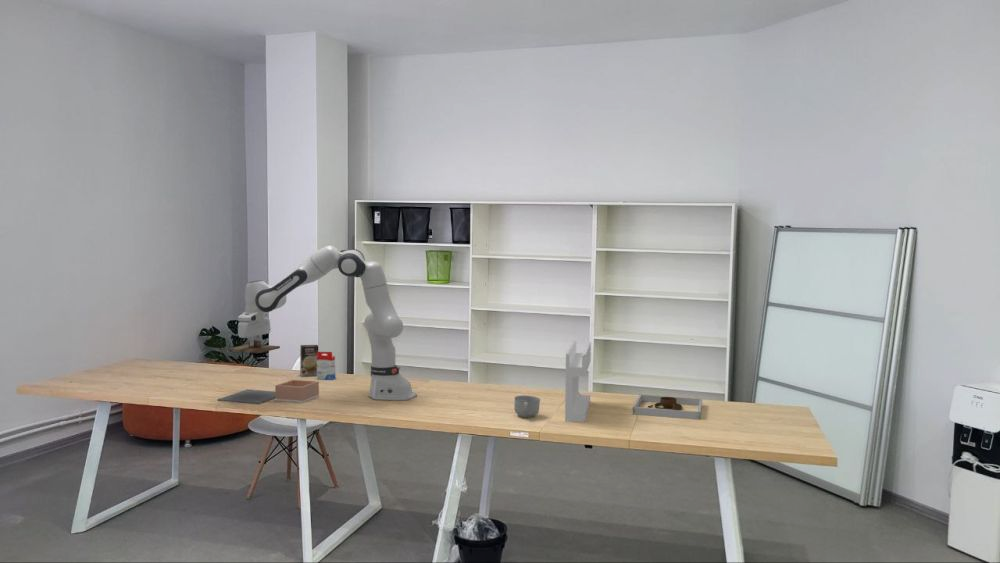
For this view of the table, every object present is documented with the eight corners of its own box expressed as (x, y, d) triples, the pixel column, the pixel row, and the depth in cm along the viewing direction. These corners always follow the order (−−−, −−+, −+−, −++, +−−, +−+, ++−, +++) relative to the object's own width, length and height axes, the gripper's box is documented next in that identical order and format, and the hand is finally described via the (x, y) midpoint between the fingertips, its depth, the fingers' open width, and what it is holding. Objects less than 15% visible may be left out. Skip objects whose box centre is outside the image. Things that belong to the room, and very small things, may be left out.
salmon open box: (318, 396, 348) (318, 381, 348) (302, 402, 335) (302, 387, 334) (292, 394, 352) (292, 379, 352) (275, 400, 339) (275, 385, 338)
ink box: (335, 378, 389) (335, 350, 388) (332, 380, 384) (332, 352, 383) (319, 377, 390) (319, 350, 389) (316, 379, 385) (316, 351, 384)
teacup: (518, 412, 321) (518, 393, 320) (542, 414, 318) (542, 395, 317) (509, 420, 307) (509, 401, 307) (534, 422, 304) (534, 403, 304)
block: (572, 401, 340) (573, 341, 338) (589, 402, 339) (590, 341, 337) (565, 421, 306) (565, 354, 304) (584, 422, 304) (585, 354, 302)
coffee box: (300, 377, 391) (300, 346, 390) (300, 374, 397) (299, 345, 396) (318, 376, 394) (318, 346, 393) (317, 373, 400) (317, 344, 399)
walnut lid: (279, 348, 349) (279, 339, 348) (259, 353, 333) (259, 344, 333) (250, 345, 353) (250, 337, 353) (229, 350, 338) (229, 341, 338)
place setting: (692, 408, 330) (692, 395, 330) (679, 419, 313) (679, 405, 313) (653, 404, 339) (653, 391, 339) (639, 413, 322) (639, 400, 321)
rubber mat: (287, 393, 353) (287, 392, 353) (259, 404, 332) (259, 402, 332) (247, 390, 359) (247, 389, 359) (217, 400, 338) (217, 399, 338)
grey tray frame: (702, 405, 335) (702, 398, 335) (700, 419, 310) (700, 412, 310) (639, 400, 343) (639, 394, 343) (632, 414, 318) (632, 407, 318)
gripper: (262, 313, 353) (262, 342, 354) (235, 317, 334) (235, 347, 334) (273, 313, 351) (273, 342, 352) (247, 318, 332) (247, 348, 333)
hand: (254, 345), depth 343 cm, fingers closed on walnut lid, 2 cm apart
